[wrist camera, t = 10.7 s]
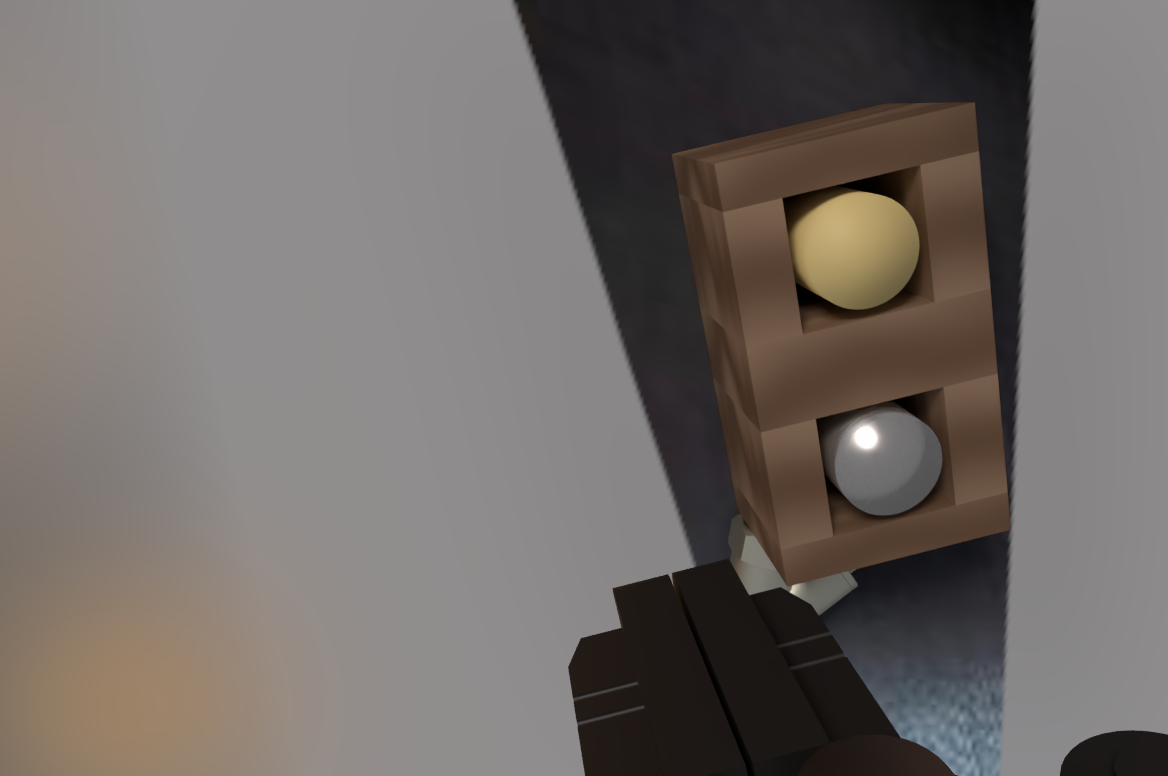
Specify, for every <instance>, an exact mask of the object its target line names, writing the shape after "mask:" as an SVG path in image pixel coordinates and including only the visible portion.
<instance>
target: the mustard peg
mask: <svg viewBox="0 0 1168 776" xmlns="http://www.w3.org/2000/svg"><path fill="white" fill-rule="evenodd" d="M782 200H783V207H784V213H785V220H786V226H787V233H788V240H789V246H790V253H791V259H792V266H793V273H794V279H795V283H797V284H799V285H801V286H803V287H804V288H806V289H808V290H810V291H812V292H813V293H815V294H817V295H819V296H821V297H823V298H824V299H826V300H828V301H830V302H832V303H834V304H835V305H838V306H840V307H843V308H847V309H856V310H858V309H868V308H872V307H876V306H878V305H881V304H883V303H885V302H887V301H888V300H890V299H891V298H893V297H894V296H895V295H897V294H898V293H899V292H900V291H901V290H902V289H903V287H904V286H905V285H906V284H907V282H908V281H909V279H910V278H911V276H912V274H913V272H914V270H915V267H916V264H917V261H918V256H919V236H918V231H917V228H916V225H915V223H914V221H913V219H912V217H911V216H910V214H909V213H908V212H907V210H906V209H905V208H904V207H903V206H901V205H900V204H899V203H898V202H896V201H894V200H893V199H890V198H888V197H886V196H882V195H878V194H873V193H868V192H863V191H859V190H854V189H849V188H845V187H840V186H831V187H826V188H822V189H818V190H814V191H810V192H806V193H801V194H797V195H793V196H789V197H785V198H782Z"/></svg>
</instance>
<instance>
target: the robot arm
mask: <svg viewBox="0 0 1168 776" xmlns="http://www.w3.org/2000/svg"><path fill="white" fill-rule="evenodd" d="M672 579H673V584H672V582H671V579H670V577H669V576H668V574H667V575H664V576H660V577H655V578H651V579H648V580H644V581H640V582H636V583H632V584H628V585H624V586H620V587H616V588H613V593H614V598H615V602H616V606H617V610H618V614H619V619H620V623H621V627H622V628H619V629H615V630H612V631H608V632H604V633H600V634H596V635H592V636H588V637H585V638H581V639H580V642H579V644H578V646H577V648H576V651H575V653H574V655H573V658H572V660H571V662H570V665H569V667H568V668H569V675H570V681H571V688H572V695H573V699H574V707H575V714H576V719H577V724H578V733H579V739H580V745H581V752H582V758H583V765H584V771H585V776H957V775H955V774H954V773H953V772H952V771H951V770H950V768H949V767H948V766H947V765H946V764H945V763H944V762H943V761H942V760H941V759H940V758H939V757H938V756H937V755H935V754H934V753H932V752H931V751H930V750H928V749H926V748H925V747H923V746H921V745H919V744H917V743H914V742H911V741H909V740H906V739H903V738H900V736H899V735H898V733H897V732H896V730H895V729H894V727H893V726H892V724H891V723H890V721H889V720H888V718H887V717H886V715H885V714H884V712H883V711H882V709H881V708H880V706H879V705H878V703H877V702H876V700H875V699H874V697H873V696H872V694H871V693H870V691H869V690H868V688H867V687H866V685H865V684H864V682H863V681H862V679H861V678H860V676H859V675H858V673H857V672H856V670H855V669H854V667H853V666H852V664H851V663H850V661H849V660H848V658H847V657H844V654H843V651H842V649H841V648H840V646H839V645H838V643H837V642H836V640H835V639H834V637H833V636H832V635H831V636H830V634H829V630H828V628H827V627H826V625H825V624H824V622H823V621H822V619H821V618H820V616H819V615H818V614H817V612H816V611H815V609H814V608H813V606H812V605H811V604H810V603H808V602H806V601H804V600H803V599H801V598H799V597H797V596H795V595H794V594H792V593H790V592H788V591H787V590H785V589H783V588H781V587H779V588H775V589H771V590H767V591H763V592H759V593H756V594H752V595H749V594H748V592H747V590H746V589H745V587H744V585H743V583H742V581H741V580H740V578H739V576H738V574H737V572H736V571H735V569H734V567H733V565H732V563H731V562H730V560H729V559H726V560H722V561H718V562H714V563H710V564H706V565H702V566H698V567H694V568H690V569H686V570H682V571H678V572H674V573H672ZM673 585H674V587H673ZM1060 776H1168V735H1167V734H1161V733H1155V732H1148V731H1133V730H1132V731H1116V732H1110V733H1104V734H1100V735H1097V736H1094V737H1091V738H1089V739H1087V740H1085V741H1083V742H1081V743H1079V744H1078V745H1077V746H1076V747H1074V748H1073V749H1072V750H1071V751H1070V752H1069V753H1068V755H1067V756H1066V757H1065V759H1064V761H1063V764H1062V766H1061V772H1060Z"/></svg>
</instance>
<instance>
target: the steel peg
mask: <svg viewBox="0 0 1168 776" xmlns="http://www.w3.org/2000/svg"><path fill="white" fill-rule="evenodd" d="M816 425H817V431H818V438H819V445H820V451H821V458H822V464H823V471H824V475H825V476H826V477H827V478H828V479H829V480H830V481H831V482H832V483H833V484H834V485H835V486H836V487H837V488H838V489H839V491H840V492H841V493H842V494H843V495H844V496H845V497H846V498H847V499H848V500H849V501H850V502H851V503H852V504H853V505H854V506H855V507H857V508H858V509H860V510H862V511H864V512H867V513H870V514H874V515H893V514H898V513H901V512H904V511H906V510H908V509H910V508H912V507H914V506H915V505H917V504H918V503H919V502H921V501H922V500H923V499H924V498H925V497H926V496H927V495H928V494H929V493H930V491H931V490H932V489H933V487H934V486H935V484H936V482H937V480H938V477H939V475H940V472H941V467H942V450H941V446H940V443H939V440H938V438H937V436H936V435H935V433H934V432H933V431H932V429H931V428H930V427H929V426H927V425H926V424H925V423H923V422H922V421H921V420H919V419H918V418H916V417H915V416H913V415H912V414H911V413H909V412H908V411H906V410H905V409H904V408H902V407H901V406H899V405H898V404H896V403H895V402H894V401H892V400H890V401H886V402H882V403H878V404H874V405H870V406H866V407H862V408H858V409H854V410H850V411H846V412H842V413H838V414H834V415H830V416H826V417H822V418H818V419H816Z"/></svg>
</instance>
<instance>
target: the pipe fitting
mask: <svg viewBox="0 0 1168 776" xmlns="http://www.w3.org/2000/svg"><path fill="white" fill-rule="evenodd" d="M728 543H729V546H730V548H731V550H732V554H731V559H730V562H731V563H732V565H733V567H734V569H735V571H736V572H737V574H738V576H739V578H740V580H741V581H742V583H743V585H744V587H745V589H746V590H747V592H748V594H749V595H752V594H756V593H759V592H763V591H767V590H771V589H775V588H779V587H781V588H783V589H785V590H787V591H788V592H790V593H792V594H794V595H795V596H797V597H799V598H801V599H803V600H804V601H806V602H808V603H810V604H811V605H812V606H813V608H814V609H815V611H816V612H817V614H818V615H821V614H822V613H823V612H824V611H826V610H827V609H828V608H830V607H831V606H832V605H834V604H835V603H836V602H837V601H839V600H840V599H841V598H843V597H844V596H845V595H846V594H848V593H849V592H850V591H852V590H853V589H855V588H856V587H857V586H858V584H857V582H856V581H855V579H854V578H853V576H852V575H851V573H852V572H853V571H854V570H851V571H847V572H843V573H839V574H835V575H831V576H827V577H823V578H819V579H816V580H812V581H808V582H804V583H800V584H796V585H792V586H788V587H787V586H786V584H785V582H784V581H783V579H782V578H781V576H780V575H779V573H778V572H777V570H776V568H775V567H774V565H773V564H772V562H771V561H770V559H769V558H768V556H767V554H766V553H765V551H764V550H763V548H762V547H761V545H760V544H759V542H758V540H757V539H756V537H755V536H754V534H753V533H752V531H751V530H750V528H749V526H748V525H747V523H746V522H745V520H744V519H743V517H742V516H741V514H739V515H737V516H735V517H734V518H732V522H731V527H730V533H729V538H728ZM855 570H856V569H855Z"/></svg>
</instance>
